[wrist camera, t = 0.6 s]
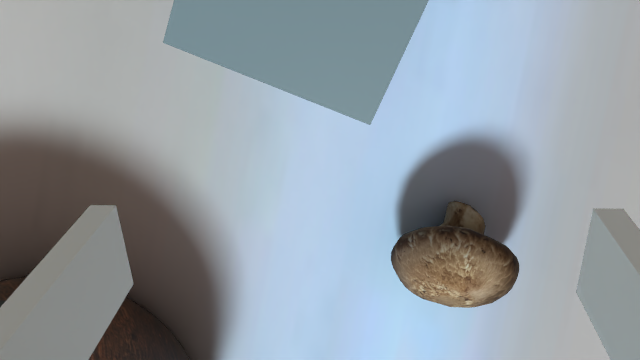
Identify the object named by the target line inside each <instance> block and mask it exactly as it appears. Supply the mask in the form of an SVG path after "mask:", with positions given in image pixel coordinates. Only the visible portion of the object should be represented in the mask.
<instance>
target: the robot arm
mask: <svg viewBox="0 0 640 360" xmlns="http://www.w3.org/2000/svg"><path fill="white" fill-rule="evenodd" d="M133 284H134V283H133V279H132V274H131V270H130V265H129V261H128V256H127V252H126V247H125V243H124V238H123V234H122V229H121V225H120V221H119V216H118V212H117V207H116V205H90V206H89V207H88V208H87V209H86V211H85V212H84V213H83V214H82V215H81V216H80V217H79V219H78V220H77V221H76V222H75V223H74V224H73V225H72V227H71V228H70V229H69V230H68V231H67V232H66V233H65V234H64V236H63V237H62V238H61V239H60V240H59V241H58V242H57V244H56V245H55V246H54V247H53V248H52V249H51V250H50V251H49V253H48V254H47V255H46V256H45V257H44V258H43V259H42V261H41V262H40V263H39V264H38V265H37V266H36V267H35V269H34V270H33V271H32V272H31V273H30V274H29V275H28V276H27V278H26V279H25V280H24V281H23V282H22V283H21V284H20V286H19V287H18V288H17V289H16V290H15V291H14V292H13V294H12V295H11V296H10V297H9V298H8V299H7V300H0V360H89V358H90V356H91V355H92V353H93V351H94V349H95V348H96V346H97V344H98V343H99V341H100V339H101V338H102V336H103V334H104V333H105V331H106V329H107V328H108V326H109V324H110V323H111V321H112V319H113V318H114V316H115V314H116V313H117V311H118V309H119V308H120V306H121V304H122V302H123V301H124V299H125V297H126V296H127V294H128V292H129V291H130V289H131V287H132V286H133ZM576 293H577V295H578V297H579V299H580V301H581V303H582V304H583V306H584V308H585V310H586V312H587V314H588V316H589V318H590V320H591V322H592V324H593V326H594V328H595V330H596V332H597V334H598V336H599V338H600V340H601V342H602V344H603V346H604V348H605V349H606V351H607V353H608V355H609V357H610V359H611V360H640V229H639V228H638V227H637V226H636V224H635V223H634V222H633V221H632V219H631V218H630V217H629V216H628V214H627V213H626V212H625V210H624V209H593V212H592V217H591V222H590V227H589V232H588V237H587V242H586V246H585V251H584V256H583V261H582V266H581V271H580V276H579V281H578V286H577V290H576Z"/></svg>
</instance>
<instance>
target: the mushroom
mask: <svg viewBox="0 0 640 360" xmlns="http://www.w3.org/2000/svg"><path fill="white" fill-rule="evenodd" d="M484 230H485V223H484V219H483V217H482V216H481V215H480V214H479V213H478V212H477V211H476V210H475V209H474V208H472V207H471V206H470V205H467V204H465V203H462V202H458V201H453V202H449V203H448V206H447V209H446V215H445V218H444V222H443V224H441V225H440V226H433V227H424V228H420V229H417V230H414V231H412V232H409V233H406V234H404V235H403V236H402V237H400V238H399V240H398V241H397V243H396V244H395V246H394V247H393V250H392V252H391V261H392V265H393V268H394V270H395V272H396V274H397V275H398V277H399V279H400V281H401V282H402V283H403V285H404V286H405V287H406V288H407V289H409V290H410V291H411V292H412V293H413V294H415V295H417V296H419V297H421V298H422V299H425V300H429V301H432V302H436V303H439V304H443V305H446V306H449V307H467V308H469V307H477V306H481V305H485V304H489V303H493V302H494V301H496V300H498V299H499V298H501V297H502V296H504V295H505V294H507V293H508V292H509V291H510V290H511V289H512V287H513V285H514V284H515V281H516V279H517V276H518V273H519V262H518V260H517V257H516V256H515V255H514V254H513V253H512V252H511V250H510V249H509V248H508V247H507V246H505V245H503V244H501V243H499V242H497V241H496V240H494V239H492V238H489V237H487V236H485V235H484Z"/></svg>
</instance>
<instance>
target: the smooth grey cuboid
mask: <svg viewBox="0 0 640 360" xmlns="http://www.w3.org/2000/svg"><path fill="white" fill-rule="evenodd" d="M428 1H429V0H174V3H173V7H172V10H171V14H170V18H169V22H168V26H167V29H166V33H165V37H164V41H163V43H165V44H168V45H170V46H173V47H175V48H178V49H180V50H183V51H185V52H188V53H190V54H193V55H195V56H198V57H200V58H203V59H205V60H208V61H211V62H213V63H216V64H218V65H221V66H223V67H226V68H228V69H231V70H233V71H236V72H238V73H241V74H243V75H246V76H248V77H251V78H253V79H256V80H258V81H261V82H263V83H266V84H268V85H271V86H273V87H276V88H278V89H281V90H283V91H286V92H288V93H291V94H293V95H296V96H298V97H301V98H303V99H306V100H308V101H311V102H314V103H316V104H319V105H321V106H324V107H326V108H329V109H331V110H334V111H336V112H339V113H341V114H344V115H346V116H349V117H351V118H354V119H356V120H359V121H361V122H364V123H366V124H369V125H370V124H371V122H372V120H373V118H374V116H375V113H376V111H377V109H378V107H379V105H380V103H381V101H382V99H383V96H384V94H385V92H386V90H387V88H388V86H389V84H390V81H391V79H392V77H393V75H394V73H395V71H396V69H397V67H398V64H399V62H400V60H401V58H402V56H403V54H404V52H405V50H406V47H407V45H408V43H409V41H410V39H411V37H412V35H413V32H414V30H415V28H416V26H417V24H418V22H419V20H420V18H421V15H422V13H423V11H424V9H425V7H426V5H427V3H428Z"/></svg>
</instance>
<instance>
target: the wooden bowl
mask: <svg viewBox="0 0 640 360" xmlns="http://www.w3.org/2000/svg"><path fill="white" fill-rule="evenodd" d="M26 278H27V277H23V278H15V279H8V280H4V281H0V300H7V299H8V298H9V297H10V296H11V295H12V294H13V292H14V291H15V290H16V289H17V288H18V287H19V286H20V284H21V283H22V282H23V281H24V280H25V279H26ZM89 360H189V358H188V356H187V354H186V352H185V351H184V349H183V348H182V346H181V344H180V343H179V341H178V340H177V339H176V338H175V337H174V335H173V334H172V333H171V332H170V331H169V330H168V329H167V328H166V327H165V325H164V324H162V323H161V322H160V321H159V320H158V319H157V318H156V317H155V316H153V315H152V314H151V313H149V312H148V311H147V310H145V309H144V308H142V307H141V306H139V305H138V304H136V303H135V302H133V301H131V300H129V299H128V298H126V297H125V299H124V301H123V302H122V304H121V306H120V308H119V309H118V311H117V313H116V314H115V316H114V318H113V319H112V321H111V323H110V324H109V326H108V328H107V329H106V331H105V333H104V334H103V336H102V338H101V339H100V341H99V343H98V344H97V346H96V348H95V349H94V351H93V353H92V355H91V356H90V358H89Z"/></svg>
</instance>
